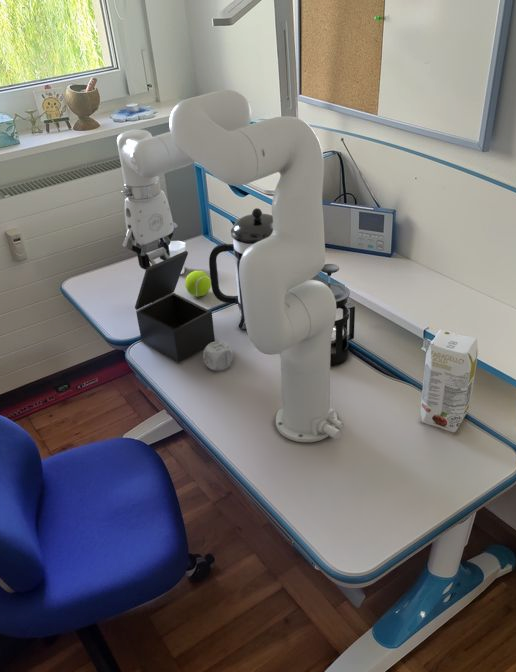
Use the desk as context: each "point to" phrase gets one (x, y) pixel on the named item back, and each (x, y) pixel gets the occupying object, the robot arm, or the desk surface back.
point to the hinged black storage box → (176, 327)
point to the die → (217, 355)
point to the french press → (340, 326)
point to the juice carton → (448, 379)
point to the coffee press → (240, 252)
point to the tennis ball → (198, 283)
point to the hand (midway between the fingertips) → (155, 263)
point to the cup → (177, 249)
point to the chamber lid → (160, 277)
